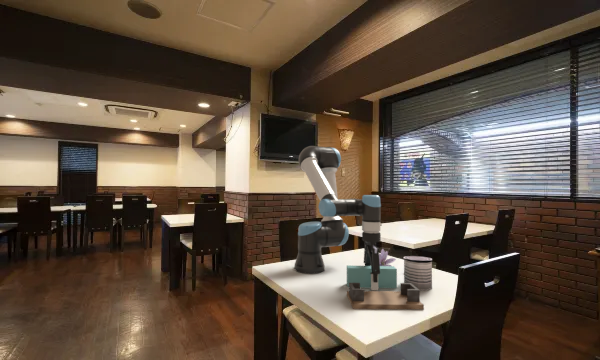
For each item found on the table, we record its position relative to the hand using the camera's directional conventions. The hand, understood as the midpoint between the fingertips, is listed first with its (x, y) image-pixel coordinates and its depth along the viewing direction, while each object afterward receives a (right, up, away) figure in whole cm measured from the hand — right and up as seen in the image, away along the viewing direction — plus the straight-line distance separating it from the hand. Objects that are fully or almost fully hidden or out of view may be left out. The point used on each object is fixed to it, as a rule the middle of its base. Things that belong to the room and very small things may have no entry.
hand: (371, 285), depth 114 cm
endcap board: (0, 0, -16) cm, 16 cm away
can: (+20, -1, +1) cm, 20 cm away
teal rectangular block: (0, 0, 0) cm, 0 cm away
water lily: (+11, -1, +19) cm, 22 cm away
